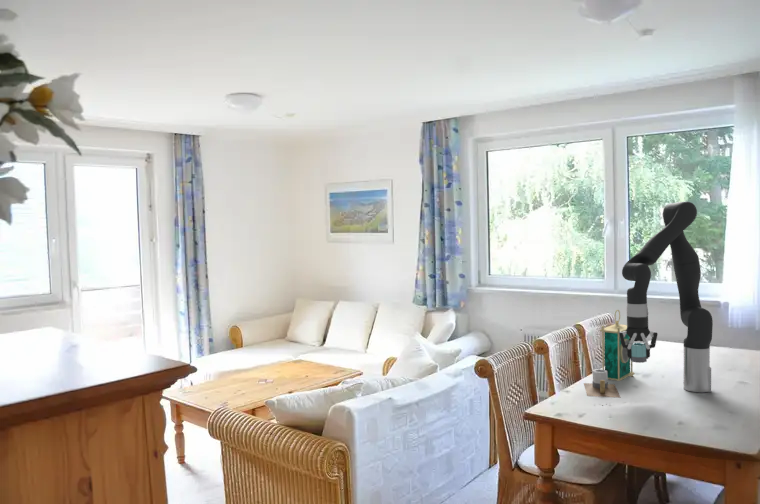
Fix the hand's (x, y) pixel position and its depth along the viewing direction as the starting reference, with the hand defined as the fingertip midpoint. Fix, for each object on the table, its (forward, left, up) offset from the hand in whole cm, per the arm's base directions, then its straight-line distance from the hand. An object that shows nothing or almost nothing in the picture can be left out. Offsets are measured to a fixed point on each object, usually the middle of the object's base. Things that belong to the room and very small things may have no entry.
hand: (638, 358), depth 229 cm
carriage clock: (+4, -26, -15) cm, 31 cm away
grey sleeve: (+13, -7, -14) cm, 20 cm away
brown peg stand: (+13, -2, -15) cm, 20 cm away
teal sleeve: (0, 0, -1) cm, 1 cm away
